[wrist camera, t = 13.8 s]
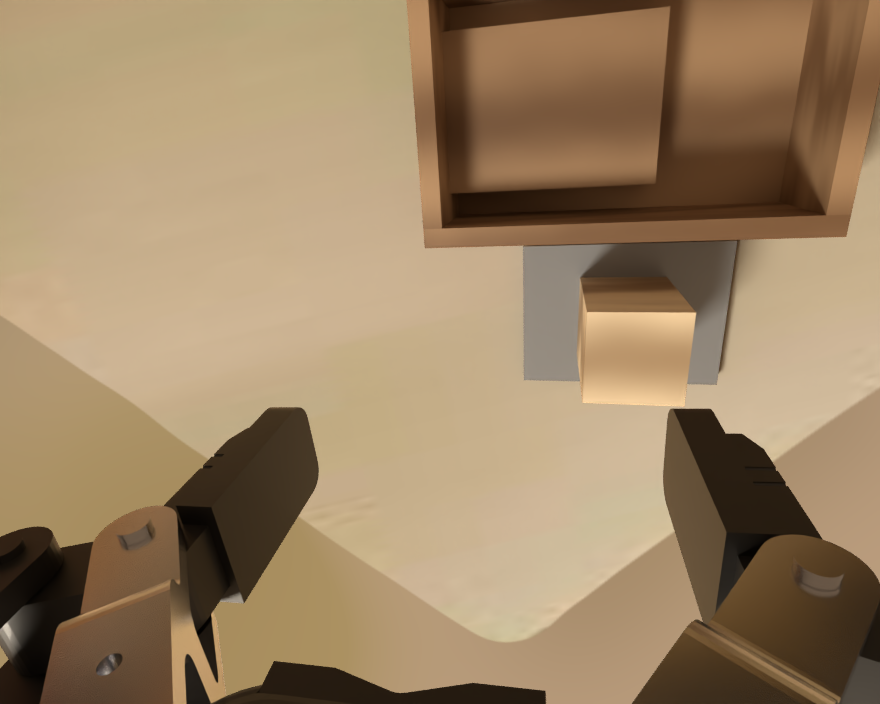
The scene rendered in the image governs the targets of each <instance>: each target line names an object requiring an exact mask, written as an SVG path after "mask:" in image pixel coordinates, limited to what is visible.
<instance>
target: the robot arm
mask: <svg viewBox="0 0 880 704" xmlns="http://www.w3.org/2000/svg"><path fill="white" fill-rule="evenodd" d="M775 468H776V467H775V466H774V464H773V463H772V461H771V460H770V458H769V456H768V455H767V453H766V452H765V450H764V449H763V448H761V447H760V446H758V445H757V444H756V443H754V442H753V441H751V440H750V439H749V438H747V437H746V436H744V435H743V434H725V432H724V430H723V428H722V427H721V425H720V423H719V421H718V419H717V418H716V416H715V414H714V412H713V411H712V410H711V409H670V411H669V413H668V419H667V432H666V445H665V457H664V470H663V484H664V494H665V500H666V504H667V507H668V511H669V514H670V517H671V520H672V524H673V527H674V530H675V533H676V536H677V540H678V543H679V546H680V549H681V553H682V555H683V559H684V562H685V565H686V568H687V572H688V575H689V578H690V581H691V585H692V588H693V591H694V594H695V597H696V600H697V604H698V606H699V610H700V614H701V617H702V620H703V622H701V621H700V620H694V621H693V622H691V623H690V624H689V625H688V626H687V628H686V629H685V630H684V631H683V633H682V634H681V636H680V637H679V638H678V640H677V641H676V643H675V644H674V645H673V647H672V648H671V650H670V651H669V652H668V654H667V655H666V657H665V658H664V659H663V661H662V662H661V663H660V665H659V666H658V668H657V669H656V671H655V672H654V673H653V675H652V676H651V678H650V679H649V680H648V682H647V683H646V684H645V686H644V687H643V689H642V690H641V692H640V693H639V694H638V696H637V697H636V698H635V700H634V701H633V703H632V704H880V583H879V580H878V578H877V577H876V575H875V574H874V572H873V571H872V570H871V569H870V568H869V567H868V566H867V565H866V564H865V563H864V562H863V561H862V560H860V559H859V558H858V557H857V556H855V555H854V554H852V553H851V552H849V551H847V550H845V549H843V548H841V547H839V546H837V545H835V544H833V543H831V542H828V541H825V540H823V539H822V538H821V536H820V534H819V533H818V531H817V530H816V528H815V527H814V525H813V524H812V522H811V521H810V519H809V518H808V516H807V515H806V513H805V512H804V510H803V509H802V507H801V505H800V504H799V502H798V501H797V499H796V498H795V496H794V495H793V493H792V492H791V490H790V489H789V487H788V486H786V485H785V481H784V479H783V478H782V476H781V475H780V473H779V472H778V471H776V469H775ZM318 472H319V468H318V461H317V456H316V452H315V448H314V443H313V439H312V435H311V430H310V426H309V422H308V418H307V414H306V412H305V411H304V410H303V409H302V408H300V407H272V408H268V409H267V410H266V411H265V412H264V413H263V414H262V415H261V416H260V417H259V418H258V419H257V420H256V421H255V422H254V424H253V425H252V426H251V427H250V428H247V429H245V430H244V431H242V432H240V433H239V434H237V435H235V436H234V437H232V438H231V439H229V440H228V441H227V442H226V443H225V444H224V445H223V446H222V447H221V448H220V449H219V450H218V451H217V452H216V453H215V454H214V457H211V458H210V459H209V460H208V461H207V462H206V463H205V464H204V465H203V469H199V470H198V471H197V472H196V473H195V474H194V475H193V476H192V477H191V478H190V479H189V480H188V481H187V482H186V483H185V484H184V486H182V488H181V489H180V490H179V491H178V492H177V493H176V494H175V495H174V496H173V497H172V498H171V499H170V500H169V501H168V502H167V503H166V504H165V505H164V506H151V507H145V508H142V509H138V510H135V511H133V512H130V513H128V514H126V515H124V516H122V517H120V518H118V519H116V520H115V521H113V522H112V523H110V524H109V525H108V526H107V527H105V528H104V529H103V530H102V531H101V532H100V533H99V535H98V536H97V537H96V539H95V541H94V542H89V543H84V544H79V545H73V546H68V547H63V548H60V547H59V545H58V543H57V541H56V539H55V537H54V535H53V533H52V531H51V530H50V529H48V528H45V527H29V528H25V529H20V530H17V531H14V532H11V533H9V534H6V535H4V536H1V537H0V646H1V648H2V649H3V651H4V652H5V654H6V656H7V657H8V659H9V660H8V661H7V662H6V663H5V664H4V665H3V666H2V667H1V668H0V704H546V693H545V691H541V690H532V689H523V688H514V687H505V686H495V685H487V684H478V683H470V684H464V685H456V686H449V687H442V688H436V689H429V690H422V691H416V692H408V693H395V692H391V691H389V690H387V689H384V688H382V687H379V686H377V685H375V684H372V683H370V682H367V681H365V680H363V679H361V678H358V677H356V676H353V675H351V674H349V673H346V672H344V671H342V670H339V669H336V668H332V667H323V666H314V665H305V664H295V663H286V662H277V661H274V662H273V664H272V666H271V668H270V670H269V672H268V674H267V676H266V678H265V680H264V682H263V684H262V685H260V686H255V687H252V688H248V689H244V690H241V691H238V692H236V693H233V694H231V695H228V696H226V692H225V684H224V676H223V668H222V660H221V652H220V644H219V636H218V627H217V622H216V618H215V616H214V613H213V610H214V609H215V607H216V606H217V604H218V603H219V602H220V601H222V602H234V603H245V601H246V599H247V598H248V596H249V595H250V593H251V591H252V590H253V588H254V587H255V585H256V583H257V582H258V580H259V578H260V577H261V575H262V573H263V572H264V570H265V569H266V567H267V565H268V564H269V562H270V561H271V559H272V557H273V556H274V554H275V553H276V551H277V549H278V548H279V546H280V545H281V543H282V541H283V540H284V538H285V536H286V535H287V533H288V532H289V530H290V528H291V526H292V525H293V524H294V522H295V520H296V519H297V517H298V515H299V514H300V512H301V511H302V509H303V507H304V506H305V504H306V503H307V501H308V499H309V498H310V496H311V494H312V493H313V491H314V489H315V487H316V484H317V480H318Z"/></svg>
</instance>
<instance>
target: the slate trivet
mask: <svg viewBox="0 0 880 704" xmlns="http://www.w3.org/2000/svg"><path fill="white" fill-rule="evenodd" d="M736 247H737V240H707V241H670V242H632V243H595V244H558V245H524V246H523V287H524V380H543V381H580V376H579V368H578V359H577V336H578V313H579V290H580V278H594V277H667V278H668V279H669V280H670V281H671V283H672V284H673V285H674V286H675V287H676V289H677V290H678V291H679V292H680V294H681V295H682V296H683V297H684V298H685V300H686V301H687V302H688V303H689V304H690V306H691V307H692V308H693V309H694V311H695V312H696V318H695V326H694V334H693V342H692V349H691V357H690V365H689V373H688V380H687V384H709V385H717V379H718V372H719V365H720V358H721V351H722V344H723V337H724V330H725V323H726V316H727V309H728V302H729V296H730V289H731V282H732V275H733V268H734V261H735V254H736Z"/></svg>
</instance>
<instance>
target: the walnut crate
mask: <svg viewBox="0 0 880 704" xmlns="http://www.w3.org/2000/svg"><path fill="white" fill-rule="evenodd" d="M407 10H408V24H409V37H410V51H411V65H412V78H413V92H414V106H415V119H416V133H417V147H418V160H419V174H420V188H421V202H422V215H423V229H424V243H425V248H447V247H484V246H521V245H558V244H595V243H632V242H670V241H707V240H744V239H781V238H818V237H846V235H847V231H848V226H849V221H850V217H851V212H852V208H853V203H854V199H855V194H856V189H857V185H858V180H859V176H860V171H861V166H862V162H863V157H864V153H865V148H866V144H867V139H868V134H869V130H870V125H871V121H872V116H873V112H874V107H875V102H876V98H877V93H878V89H879V84H880V0H407Z"/></svg>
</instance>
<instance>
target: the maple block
mask: <svg viewBox="0 0 880 704" xmlns="http://www.w3.org/2000/svg"><path fill="white" fill-rule="evenodd" d="M695 318H696V312H695V311H694V309H693V308H692V307H691V306H690V304H689V303H688V302H687V301H686V300H685V298H684V297H683V296H682V295H681V294H680V292H679V291H678V290H677V289H676V287H675V286H674V285H673V284H672V283H671V281H670V280H669V279H668V278H667V277H594V278H580V290H579V313H578V336H577V359H578V368H579V376H580V385H581V393H582V402H583V403H604V404H631V405H657V406H683V407H684V404H685V396H686V388H687V380H688V373H689V365H690V357H691V349H692V342H693V334H694V326H695Z"/></svg>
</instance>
